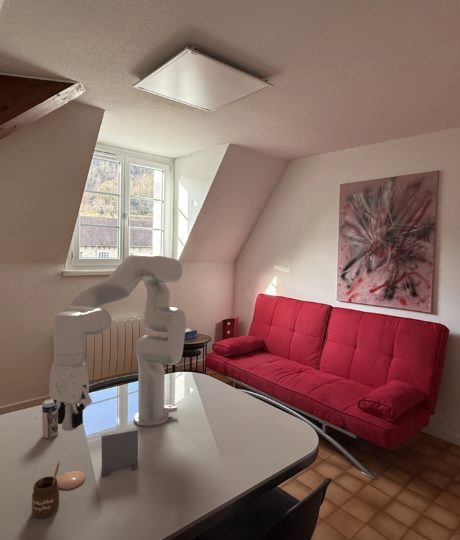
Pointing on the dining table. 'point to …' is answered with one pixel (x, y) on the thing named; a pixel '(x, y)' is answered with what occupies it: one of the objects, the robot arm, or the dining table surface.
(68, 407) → the rook chess piece
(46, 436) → the beer can
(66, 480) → the pink round domed part
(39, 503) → the utensil holder
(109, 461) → the grey upright panel
